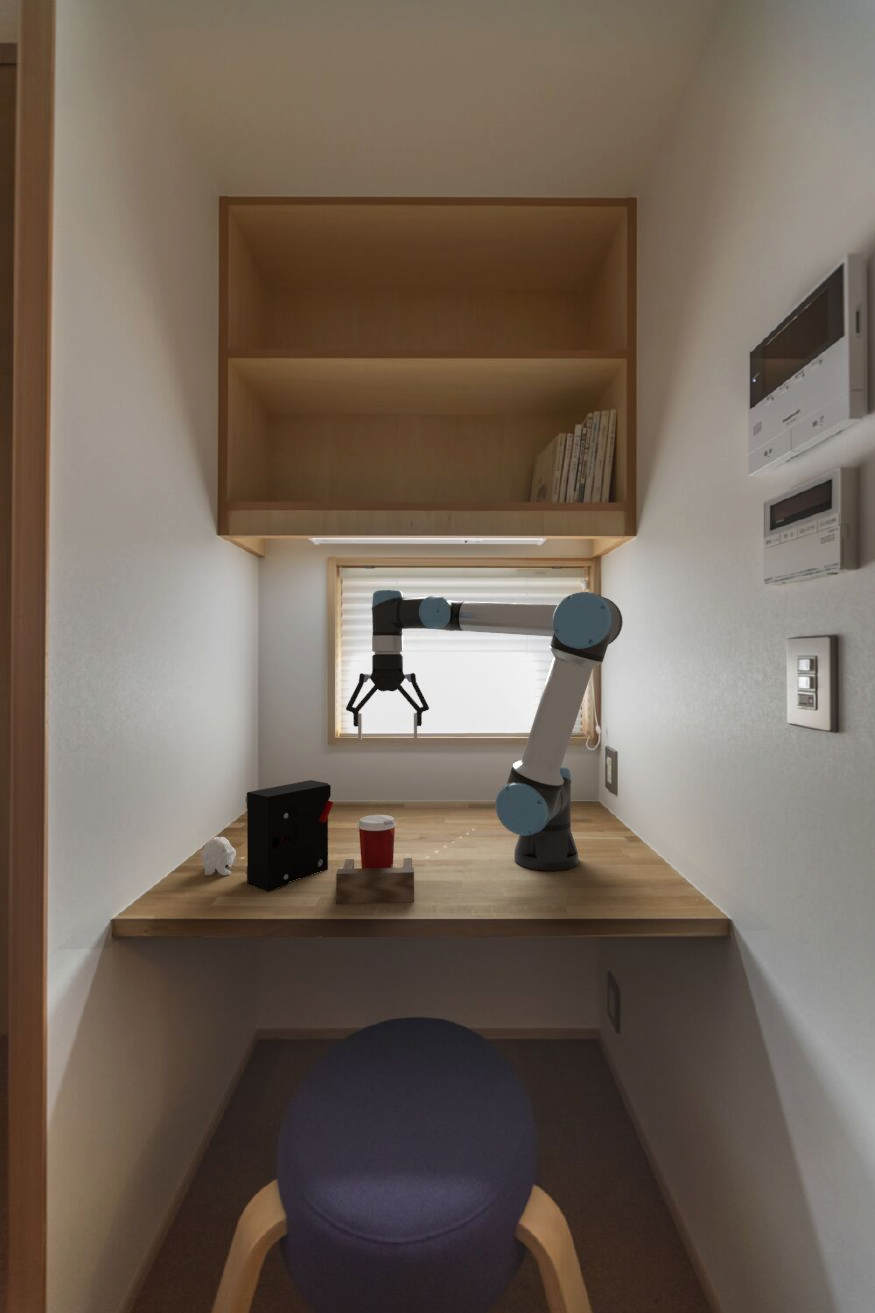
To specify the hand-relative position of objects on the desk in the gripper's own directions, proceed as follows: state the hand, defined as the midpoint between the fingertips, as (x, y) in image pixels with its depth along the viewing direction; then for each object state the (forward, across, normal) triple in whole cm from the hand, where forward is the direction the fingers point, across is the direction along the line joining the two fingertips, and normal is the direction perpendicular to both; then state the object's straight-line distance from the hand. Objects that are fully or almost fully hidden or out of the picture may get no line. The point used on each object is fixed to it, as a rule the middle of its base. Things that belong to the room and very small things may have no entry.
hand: (387, 739), depth 161 cm
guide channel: (+29, +2, +18) cm, 34 cm away
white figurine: (+29, +38, +8) cm, 48 cm away
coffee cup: (+29, +2, +22) cm, 37 cm away
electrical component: (+29, +22, +13) cm, 39 cm away
